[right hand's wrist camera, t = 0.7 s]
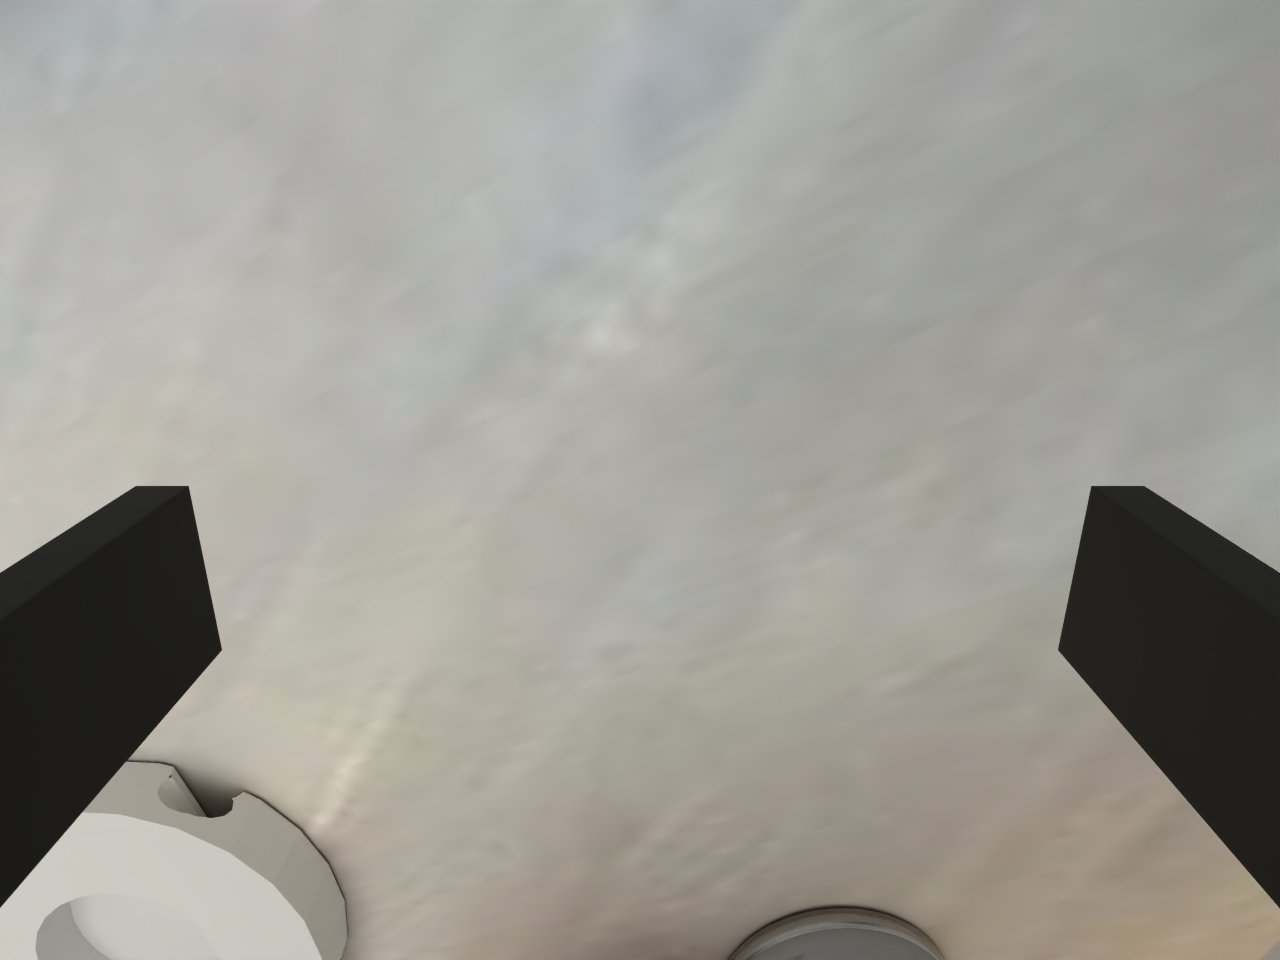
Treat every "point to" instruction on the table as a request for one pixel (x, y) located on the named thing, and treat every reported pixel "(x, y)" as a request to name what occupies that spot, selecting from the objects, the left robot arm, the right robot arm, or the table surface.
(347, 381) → the table surface
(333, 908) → the ashtray
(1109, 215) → the table surface
